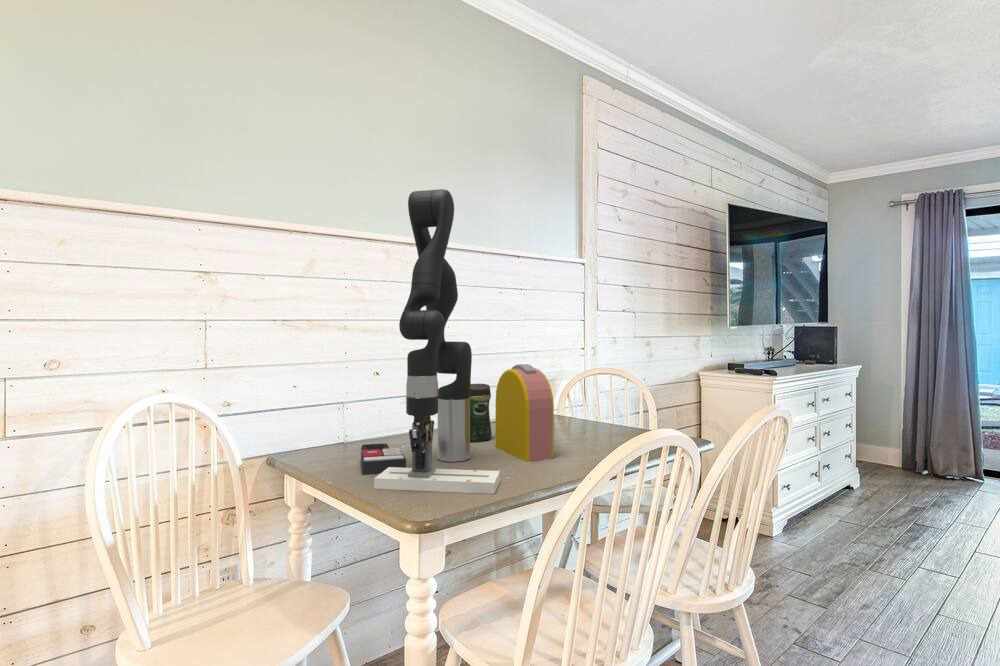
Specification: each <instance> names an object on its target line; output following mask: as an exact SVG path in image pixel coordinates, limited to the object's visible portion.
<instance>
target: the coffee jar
mask: <svg viewBox="0 0 1000 666" xmlns="http://www.w3.org/2000/svg"><path fill="white" fill-rule="evenodd" d="M491 393H492V392H491V387H490V385H489V384H486V383H471V387H470V443H472V442H473V443H475V442H485V441H489V440H491V439H492V426H491V418H490V400H491V398H492V394H491Z"/></svg>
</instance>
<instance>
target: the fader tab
mask: <svg viewBox="0 0 1000 666" xmlns="http://www.w3.org/2000/svg"><path fill="white" fill-rule="evenodd" d="M417 447H419V445H418V444H417ZM411 453H412V454H411V460H412V463H411V468H412V470H411V471H410V472H409V473H408V477H426V478H429V477H430V476H431V475H432V474H433V473H434V472H435V471H436V469H437V468H436V466H433V439H432V440H428V442H427V443H426V444H425V468H424V469H416V468H415V453H414V452H412V451H411Z"/></svg>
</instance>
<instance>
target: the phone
mask: <svg viewBox="0 0 1000 666" xmlns="http://www.w3.org/2000/svg"><path fill="white" fill-rule="evenodd" d="M373 449H380V450H381V451H382V449H390V448H389V444H388V443H371V444H370V443H369V444H362V445H361V452H363V450H373Z"/></svg>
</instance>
